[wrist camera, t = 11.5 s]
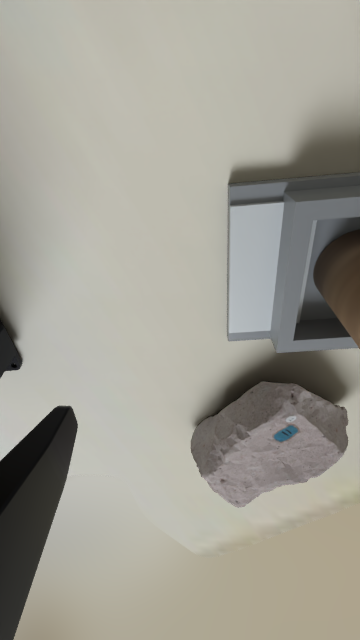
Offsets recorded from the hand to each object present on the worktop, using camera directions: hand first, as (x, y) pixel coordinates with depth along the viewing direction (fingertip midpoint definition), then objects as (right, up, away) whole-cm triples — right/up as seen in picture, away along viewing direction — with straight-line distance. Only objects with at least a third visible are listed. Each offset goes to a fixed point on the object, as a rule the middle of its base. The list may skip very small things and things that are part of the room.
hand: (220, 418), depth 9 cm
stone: (+7, -6, +21) cm, 22 cm away
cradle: (+10, +7, +11) cm, 17 cm away
